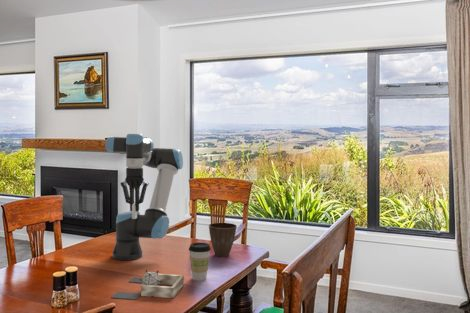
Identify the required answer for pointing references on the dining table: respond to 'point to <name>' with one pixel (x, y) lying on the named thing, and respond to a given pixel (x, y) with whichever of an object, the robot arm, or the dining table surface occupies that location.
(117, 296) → the mats
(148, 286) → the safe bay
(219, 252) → the plant pot
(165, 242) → the dining table surface
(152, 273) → the game die
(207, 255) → the coffee cup
